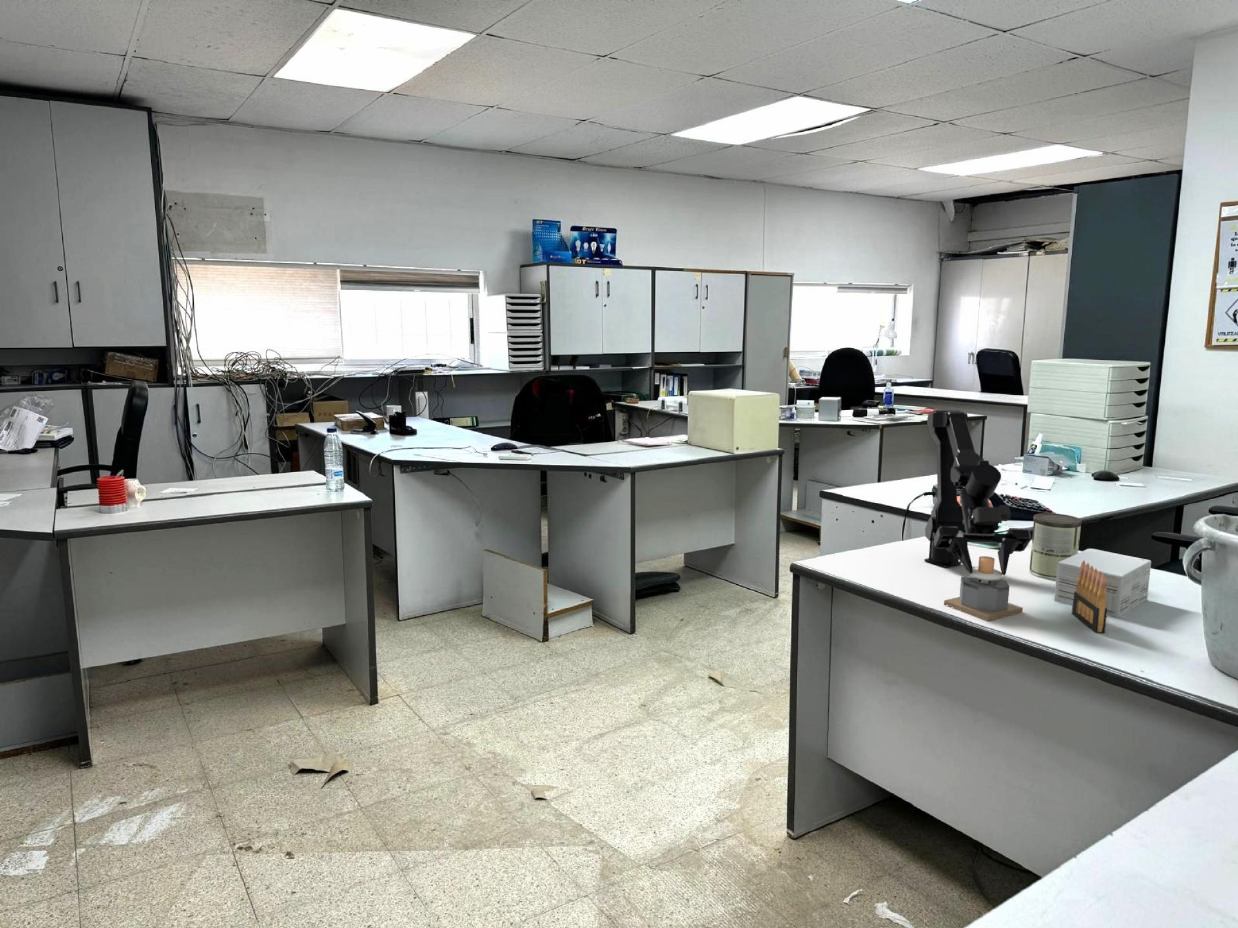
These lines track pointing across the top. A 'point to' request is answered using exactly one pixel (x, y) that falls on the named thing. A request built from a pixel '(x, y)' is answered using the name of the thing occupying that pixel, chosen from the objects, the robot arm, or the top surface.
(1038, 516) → the coffee can
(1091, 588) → the ammunition clip
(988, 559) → the pump plunger
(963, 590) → the pump canister
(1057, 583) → the supplement box
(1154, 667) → the top surface
